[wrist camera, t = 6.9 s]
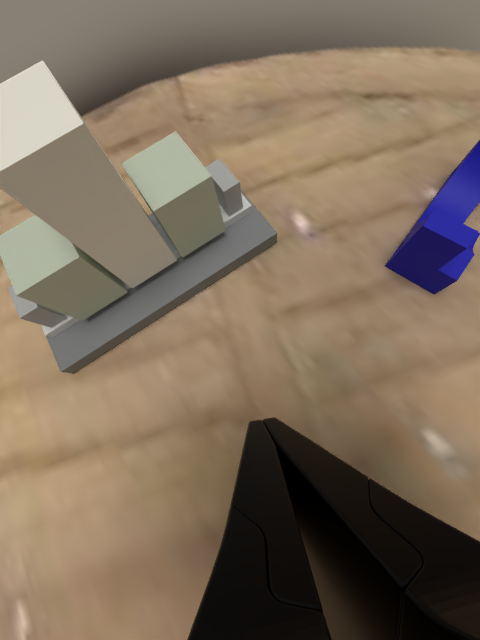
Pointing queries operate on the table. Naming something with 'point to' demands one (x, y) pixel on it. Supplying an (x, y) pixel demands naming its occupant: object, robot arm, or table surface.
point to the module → (73, 179)
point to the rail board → (157, 291)
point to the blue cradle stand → (443, 231)
